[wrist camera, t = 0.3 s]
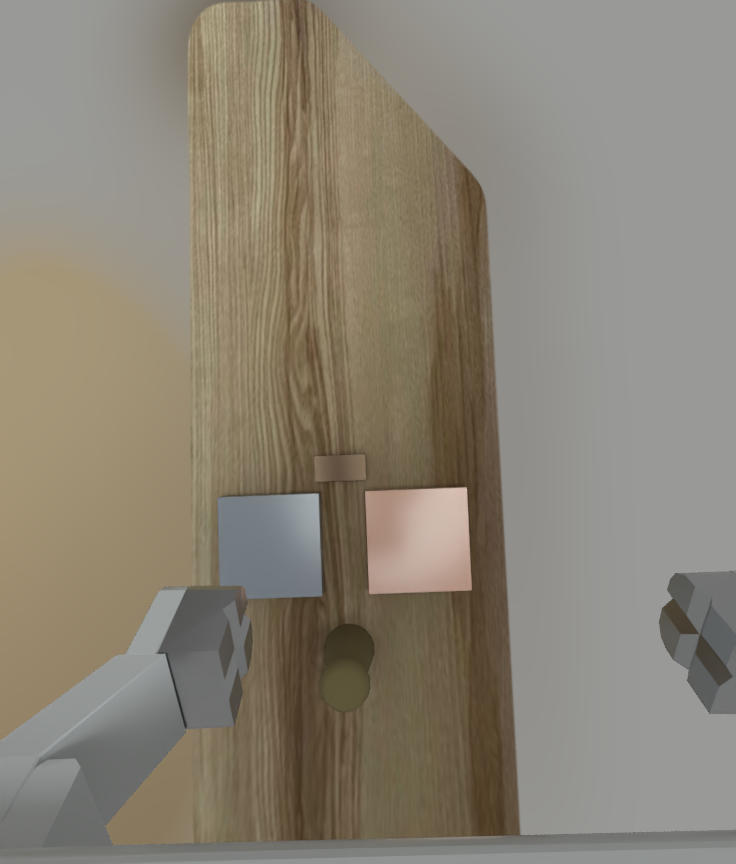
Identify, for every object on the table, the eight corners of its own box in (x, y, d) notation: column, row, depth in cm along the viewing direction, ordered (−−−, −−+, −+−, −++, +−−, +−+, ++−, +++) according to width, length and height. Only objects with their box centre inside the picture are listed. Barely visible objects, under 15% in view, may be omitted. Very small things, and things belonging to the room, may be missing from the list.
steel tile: (323, 591, 62) (322, 596, 60) (225, 595, 62) (220, 600, 60) (320, 492, 62) (318, 493, 60) (222, 496, 62) (217, 497, 60)
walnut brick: (365, 454, 63) (365, 454, 60) (366, 478, 63) (366, 479, 60) (316, 456, 63) (314, 456, 60) (317, 480, 63) (314, 481, 60)
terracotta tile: (468, 585, 62) (471, 590, 60) (369, 589, 62) (369, 594, 60) (463, 486, 62) (466, 487, 60) (365, 490, 62) (365, 491, 60)
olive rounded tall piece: (358, 614, 62) (355, 649, 51) (383, 659, 61) (385, 703, 50) (315, 639, 62) (302, 679, 51) (339, 683, 61) (332, 734, 50)
